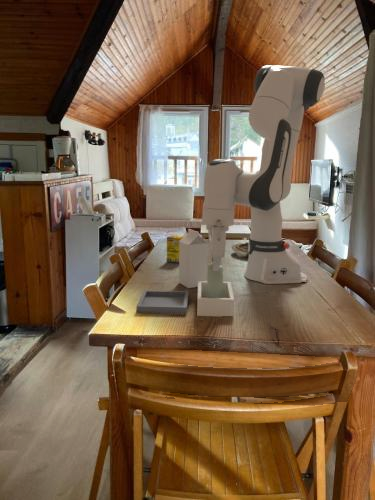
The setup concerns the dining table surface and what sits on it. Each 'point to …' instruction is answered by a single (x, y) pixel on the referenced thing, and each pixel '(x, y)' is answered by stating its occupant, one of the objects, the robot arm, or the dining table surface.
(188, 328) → the dining table surface
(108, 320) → the dining table surface
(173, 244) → the supplement box
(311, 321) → the dining table surface
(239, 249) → the pie
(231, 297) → the white open box
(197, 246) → the milk carton
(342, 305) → the dining table surface
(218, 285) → the dowel pin
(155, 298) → the tray
